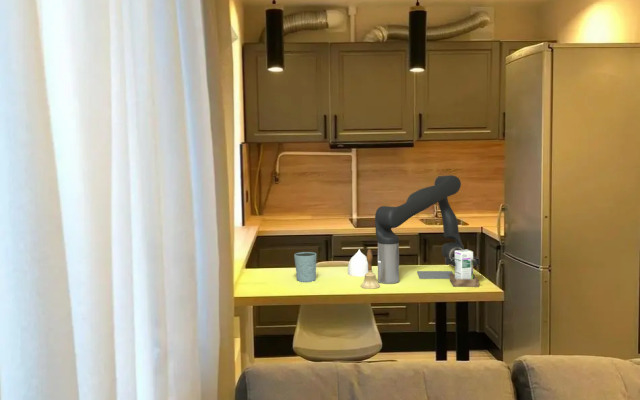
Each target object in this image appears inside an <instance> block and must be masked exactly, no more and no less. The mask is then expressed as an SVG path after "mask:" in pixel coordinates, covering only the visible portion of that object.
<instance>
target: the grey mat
mask: <svg viewBox="0 0 640 400" xmlns="http://www.w3.org/2000/svg"><path fill="white" fill-rule="evenodd" d="M416 273H417V275H418V276H417V277H418V279H420V280H421V279H422V280H435V279H436V280H438V279H439V280H450V274H454V272H453V271H452V270H417V271H416Z"/></svg>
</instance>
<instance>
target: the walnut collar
mask: <svg viewBox="0 0 640 400" xmlns="http://www.w3.org/2000/svg"><path fill="white" fill-rule="evenodd" d="M449 282H450V284H451V285H452V287H453V288H455V287H456V288H479V282H480V280H479V278H478V277H477V276H476V275H475V274H474V273H473V279H455V273H453V274H450V279H449Z"/></svg>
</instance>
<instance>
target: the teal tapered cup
mask: <svg viewBox="0 0 640 400" xmlns="http://www.w3.org/2000/svg"><path fill="white" fill-rule="evenodd" d="M293 255H294V256H293V257H294V265H295V272H296V273H295V274H296V275H295V276H296V281H297V282H298V281H299V282H300V283H311V282H312V281H313V282H316V279H317V253H316V252H313V251H301V252H296V253H294V254H293ZM299 282H298V283H299Z"/></svg>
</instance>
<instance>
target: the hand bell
mask: <svg viewBox="0 0 640 400" xmlns="http://www.w3.org/2000/svg"><path fill="white" fill-rule="evenodd" d="M366 257H367V262H368V273H366V274H365V276H364V279H363V282H362V284H361V285H360V287H361V288H363V289H365V290H374V289H379V288H380V287H381V285H380V284H379V283H378V279H377V276H376V273H374V272H373V269H372V268H373V265H372V264H373V260H374V259H373V258H374V257H373V252H372V249H367V252H366Z"/></svg>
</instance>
